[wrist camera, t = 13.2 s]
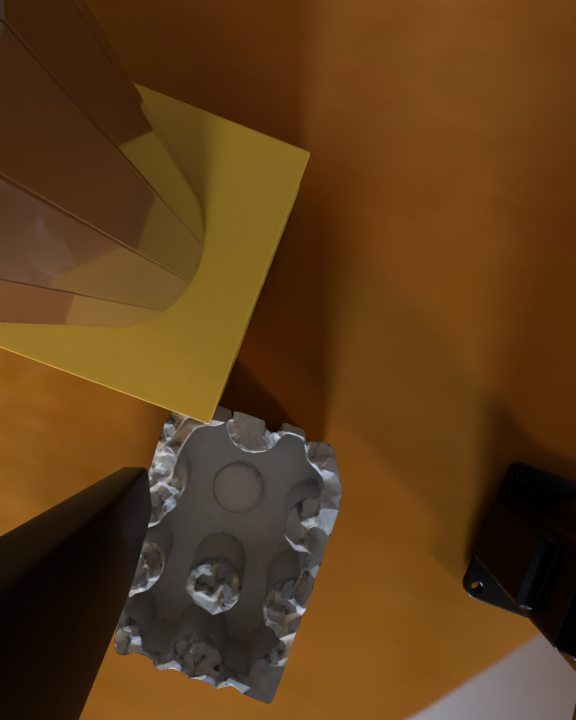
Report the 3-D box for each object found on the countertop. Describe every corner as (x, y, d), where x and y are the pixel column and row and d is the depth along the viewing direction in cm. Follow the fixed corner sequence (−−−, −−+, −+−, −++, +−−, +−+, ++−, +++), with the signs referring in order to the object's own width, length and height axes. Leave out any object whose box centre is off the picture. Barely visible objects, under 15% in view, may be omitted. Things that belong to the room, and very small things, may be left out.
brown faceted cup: (231, 175, 16) (95, -260, 4) (167, 355, 17) (-125, 410, 5) (47, 105, 16) (-627, -556, 4) (-14, 289, 16) (-803, 169, 4)
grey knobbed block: (187, 387, 21) (164, 399, 17) (346, 437, 21) (362, 461, 17) (118, 607, 21) (79, 671, 17) (274, 654, 21) (272, 729, 17)
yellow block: (304, 187, 20) (310, 151, 16) (222, 407, 21) (209, 424, 17) (57, 90, 20) (1, 30, 16) (-20, 317, 20) (-93, 313, 16)
